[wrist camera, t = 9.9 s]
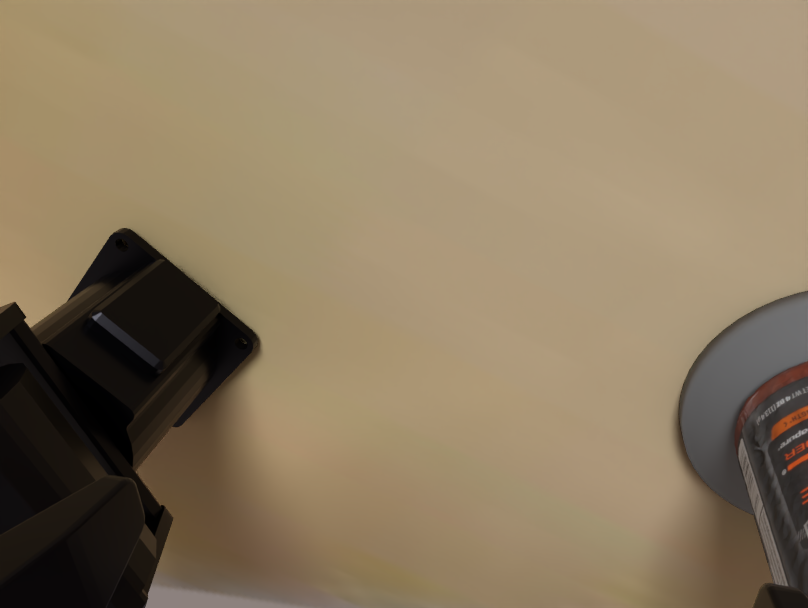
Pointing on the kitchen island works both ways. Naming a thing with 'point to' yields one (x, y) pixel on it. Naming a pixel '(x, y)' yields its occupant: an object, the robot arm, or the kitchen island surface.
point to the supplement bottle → (778, 471)
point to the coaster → (737, 387)
